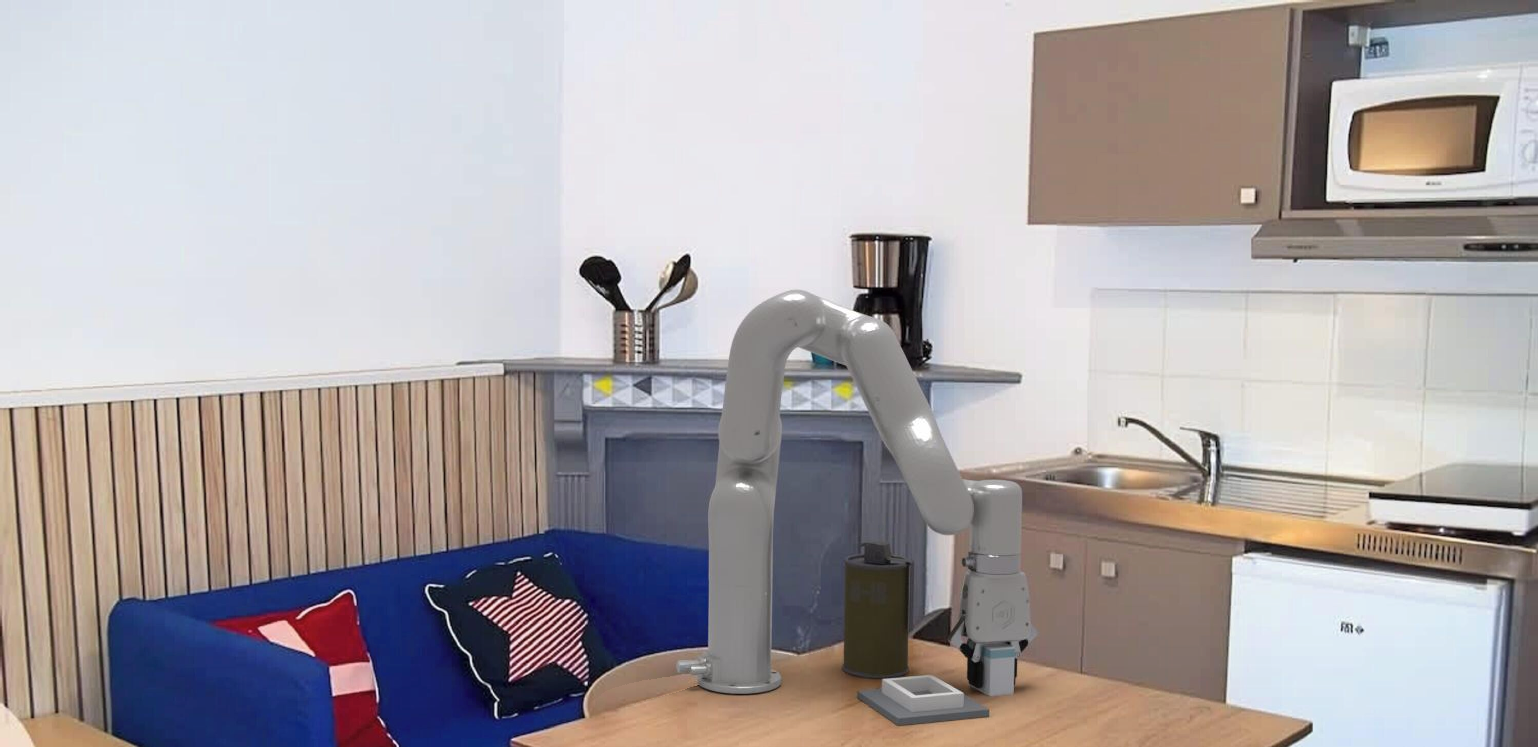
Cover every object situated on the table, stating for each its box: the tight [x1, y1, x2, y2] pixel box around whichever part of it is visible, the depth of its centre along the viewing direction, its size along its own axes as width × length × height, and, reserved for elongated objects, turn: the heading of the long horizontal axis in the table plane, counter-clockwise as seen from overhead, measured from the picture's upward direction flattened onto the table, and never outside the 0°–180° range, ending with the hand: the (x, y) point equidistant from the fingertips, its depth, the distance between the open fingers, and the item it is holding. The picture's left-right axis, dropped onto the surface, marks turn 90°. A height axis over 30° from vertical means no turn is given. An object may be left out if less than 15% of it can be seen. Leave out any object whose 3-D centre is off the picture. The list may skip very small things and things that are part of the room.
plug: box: [969, 642, 1015, 697], centre depth 212 cm, size 4×6×7 cm
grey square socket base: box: [856, 674, 990, 726], centre depth 202 cm, size 14×14×3 cm
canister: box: [841, 540, 915, 680], centre depth 221 cm, size 11×10×20 cm
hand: (991, 683), depth 212 cm, fingers open, 4 cm apart
